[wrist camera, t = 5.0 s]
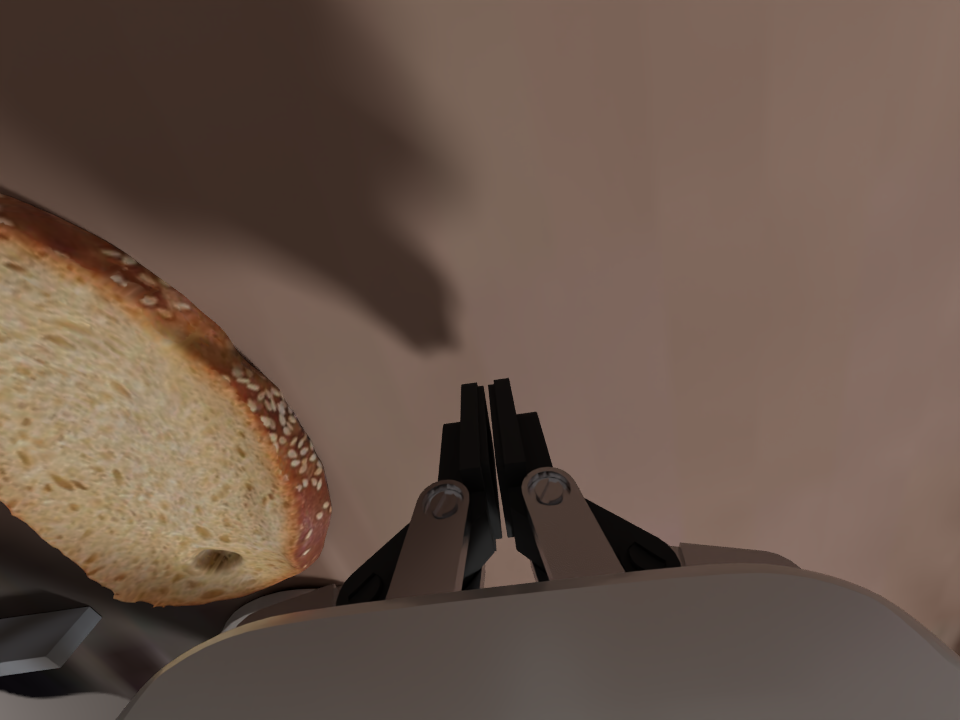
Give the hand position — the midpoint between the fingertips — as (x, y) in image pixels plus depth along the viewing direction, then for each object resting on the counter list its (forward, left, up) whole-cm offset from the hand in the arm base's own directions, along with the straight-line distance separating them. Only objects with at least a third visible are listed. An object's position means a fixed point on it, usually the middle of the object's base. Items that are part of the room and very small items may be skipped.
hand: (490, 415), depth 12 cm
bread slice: (+16, +1, -4) cm, 16 cm away
